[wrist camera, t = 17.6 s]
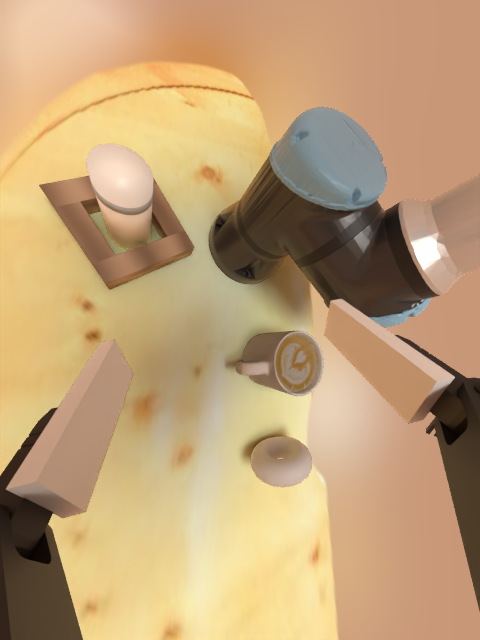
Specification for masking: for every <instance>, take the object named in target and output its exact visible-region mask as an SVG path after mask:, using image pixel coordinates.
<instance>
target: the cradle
mask: <svg viewBox="0 0 480 640" xmlns="http://www.w3.org/2000/svg"><path fill="white" fill-rule="evenodd" d="M39 186H40V187H41V189H42V190H43V192H44V193H45V195H46V196H47V198H48V199H49V201H50V202H51V204H52V205H53V207H54V208H55V210H56V211H57V213H58V214H59V216H60V217H61V219H62V220H63V222H64V223H65V225H66V226H67V227H68V229H69V230H70V232H71V233H72V235H73V236H74V238H75V239H76V241H77V242H78V244H79V245H80V247H81V248H82V250H83V251H84V253H85V254H86V255H87V257H88V258H89V260H90V261H91V263H92V264H93V266H94V267H95V269H96V270H97V272H98V273H99V275H100V276H101V278H102V279H103V281H104V282H105V284H106V285H107V286H108V288H109V289H112V288H114V287H116V286H119V285H121V284H123V283H126V282H128V281H130V280H133V279H135V278H137V277H140V276H142V275H144V274H147V273H149V272H151V271H154V270H156V269H158V268H161V267H163V266H165V265H168V264H170V263H172V262H175V261H177V260H179V259H182V258H184V257H186V256H189V255H191V253H192V251H193V249H194V246H193V244H192V242H191V241H190V239H189V237H188V236H187V234H186V232H185V230H184V229H183V227H182V225H181V224H180V222H179V220H178V219H177V217H176V215H175V214H174V212H173V210H172V209H171V207H170V205H169V203H168V202H167V200H166V198H165V197H164V195H163V193H162V192H161V190H160V188H159V187H158V185H157V183H156V181H155V180H154V178H153V201H152V219H151V222H152V223H153V225H154V227H155V228H156V230H157V231H158V233H159V235H160V236H161V238H162V239H160V240H157V241H154V242H151V243H149V244H146V245H143V246H140V247H138V248H135V249H132V250H129V251H126V252H124V253H121V254H118V255H115V254H114V252H113V251H112V249H111V248H110V246H109V245H108V243H107V242H106V240H105V239H104V237H103V236H102V234H101V233H100V231H99V230H98V228H97V227H96V225H95V223H94V222H93V220H92V219H91V217H90V216H89V214H91V213H95V212H99V211H101V210H100V207H99V204H98V201H97V198H96V195H95V193H94V190H93V187H92V184H91V181H90V177H89V176H85V177H80V178H74V179H69V180H64V181H58V182H53V183H47V184H42V185H39Z"/></svg>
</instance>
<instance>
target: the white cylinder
mask: <svg viewBox="0 0 480 640" xmlns="http://www.w3.org/2000/svg"><path fill="white" fill-rule="evenodd" d="M86 167H87V171H88V174H89V177H90V181H91V184H92V187H93V190H94V193H95V195H96V198H97V201H98V204H99V207H100V210H101V213H102V216H103V219H104V222H105V225H106V228H107V231H108V234H109V236H110V238H111V239H112V240H113V241H114V242H115V243H116V244H117V245H119V246H120V247H123V248H125V249H130V250H132V249H135V248H138V247H140V246H143V245H146V244H148V243H149V241H150V237H151V219H152V201H153V174H152V172H151V169H150V167H149V166H148V164H147V163H146V162H145V160H144V159H143V158H142V157H141V156H139V155H138V154H137V153H135V152H134V151H132V150H131V149H129V148H127V147H124V146H121V145H117V144H101V145H98V146H96V147H94V148H93V149H92V150H91V151H90V152H89V154H88V155H87V159H86Z"/></svg>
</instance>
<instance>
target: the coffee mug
mask: <svg viewBox="0 0 480 640" xmlns="http://www.w3.org/2000/svg"><path fill="white" fill-rule="evenodd" d="M323 367H324V362H323V354H322V351H321V348H320V346H319V344H318V342H317V341H316V340H315V338H314V337H313V336H312V335H310V334H308V333H306V332H304V331H288V332H277V333H266V334H259V335H257V336H255V337H253V338H252V339H251V340H250V341H249V342H248V344H247V346H246V348H245V350H244V355H243V360H242V361H239V362H237V363H236V371H237V372H238V373H239V374H242V375H248V376H249V377H250V378H251V379H252V380H253V381H254V382H256V383H258V384H261V385H264V386H267V387H270V388H273V389H276V390H279V391H282V392H285V393H288V394H291V395H294V396H303V395H306V394H309V393H310V392H312V391H313V390H314V389H315V388H316V386H317V385H318V383H319V382H320V379H321V377H322V373H323Z"/></svg>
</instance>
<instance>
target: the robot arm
mask: <svg viewBox="0 0 480 640" xmlns="http://www.w3.org/2000/svg"><path fill="white" fill-rule="evenodd" d="M382 160H383V158H382V155H381V153H380V151H379V149H378V147H377V146H376V144H375V143H374V141H373V140H372V138H371V137H370V136H369V135H368V133H367V132H366V131H365V130H364V129H363V128H362V127H361V126H360V125H359V124H358V123H357V122H356V121H354V120H353V119H352V118H350V117H349V116H347V115H346V114H344V113H342V112H339V111H338V110H335V109H332V108H328V107H316V108H312V109H309V110H307V111H305V112H303V113H302V114H301V115H299V116H298V117H297V118H296V119H295V121H294V122H293V123H292V124H291V126H290V127H289V128H288V130H287V132H286V133H285V134H284V135H283V137H282V138H281V139H280V140H279V141H278V142H277V143H276V144H275V145H274V146H273V149H272V150H271V153H270V155H269V157H268V158H267V160H266V161H265V163H264V164H263V166H262V167H261V169H260V171H259V172H258V174H257V175H256V177H255V178H254V180H253V181H252V183H251V184H250V186H249V188H248V189H247V191H246V192H245V194H244V195H243V197H242V198H241V200H239V201H238V202H236V203H234V204H233V205H231V206H229V207H228V208H226V209H224V210H223V211H222V212H221V213H220V214H219V215H218V216H217V218H216V220H215V221H214V223H213V225H212V227H211V230H210V234H209V246H210V251H211V254H212V256H213V259H214V260H215V262H216V264H217V265H218V267H219V268H220V269H221V270H222V271H223V272H224V273H225V274H226V275H227V276H228V277H230V278H231V279H233V280H235V281H237V282H240V283H244V284H255V283H259V282H261V281H263V280H265V279H267V278H268V277H270V276H271V275H272V274H273V273H274V272H275V271H276V270H277V268H278V267H279V265H280V264H281V262H282V261H283V259H284V258H285V257H286V256H287V255H288V254H289V255H290V256H291V258H292V259H293V260H294V261H295V263H296V264H297V265H298V267H299V268H300V269H301V271H302V272H303V273H304V275H305V276H306V277H307V278H308V280H309V281H310V282H311V284H312V285H313V286H314V287H315V289H316V290H317V291H318V293H319V294H320V295H321V297H322V298H323V299H324V302H325V304H326V306H327V307H328V308H329V312H328V317H327V323H326V328H325V334H324V335H325V336H326V337H327V338H328V339H329V340H330V341H331V343H332V344H333V345H334V346H335V347H336V348H337V349H338V350H339V351H340V352H341V353H342V354H343V355H344V356H345V357H346V358H347V360H348V361H350V363H351V364H352V365H353V366H354V367H355V368H356V369H357V370H358V371H359V372H360V373H361V374H362V375H363V376H364V377H365V379H366V380H367V381H368V382H369V383H370V384H371V385H372V386H373V387H374V388H375V389H376V390H377V391H378V392H379V393H380V394H381V396H382V397H383V398H384V399H385V400H386V401H387V402H388V403H389V404H390V405H391V406H392V407H393V408H394V409H395V410H396V411H397V412H398V414H399V415H401V417H403V419H404V420H405V421H406V422H407V423H408V424H409V423H413V422H417V421H420V420H423V419H424V418H425V417H426V416H427V414H428V413H429V412H431V413H432V414H433V415H435V416H436V417H435V419H434V420H433V421H432V422H431V424H430V425H429V426H428V428H427V429H426V433H428V434H430V433H431V431H432V430H433V429H434V428H435V430H436V433H435V434H434V436H436V437H437V439H438V443H439V446H440V450H441V455H442V459H443V463H444V467H445V471H446V475H447V480H448V483H449V487H450V491H451V496H452V500H453V504H454V508H455V512H456V516H457V520H458V525H459V528H460V533H461V536H462V541H463V545H464V549H465V553H466V557H467V561H468V565H469V569H470V573H471V578H472V582H473V586H474V590H475V594H476V598H477V602H478V606H479V610H480V378H466V377H465V376H463V375H461V374H460V373H458V372H457V371H455V370H454V369H452V368H450V367H449V366H448V365H446V364H445V363H443V362H442V361H440V360H439V359H437V358H436V357H434V356H433V355H431V354H429V353H428V352H427V351H425V350H424V349H421V348H420V347H419V346H417V345H416V344H415V343H413V342H412V341H410V340H408V339H406V338H403V337H401V336H399V335H393V334H392V333H390V332H389V331H388V330H386V329H385V328H386V327H390V326H394V325H397V324H400V323H403V322H405V321H406V320H407V318H406V317H409V316H411V317H414V316H416V315H418V314H419V313H421V312H422V311H423V310H424V309H425V308H426V307H427V305H428V304H429V302H430V299H431V297H435V296H440V295H443V294H446V293H447V292H448V291H449V289H450V288H451V287H452V286H453V285H454V283H455V282H456V281H457V280H458V278H460V277H461V276H462V275H464V274H467V273H471V272H474V271H478V270H480V174H479V175H477V176H475V177H473V178H471V179H470V180H468V181H466V182H464V183H462V184H460V185H458V186H457V187H455V188H453V189H451V190H449V191H448V192H446V193H444V194H442V195H440V196H438V197H437V198H435V199H433V200H427V201H420V200H411V199H405V200H403V201H401V202H400V203H398V204H396V205H394V206H393V207H391V208H389V209H388V210H385V211H384V210H383V209H382V208H381V206H380V204H379V203H378V201H377V199H378V198H379V196H380V195H381V194H382V192H383V191H384V189H385V186H386V182H387V173H386V167H385V166H384V165H383V164H382ZM133 374H134V373H133V371H132V370H131V368H130V366H129V364H128V362H127V361H126V359H125V357H124V355H123V353H122V352H121V350H120V348H119V346H118V344H117V343H116V341H115V340H110V341H104V342H100V344H99V345H98V347H97V348H96V350H95V351H94V353H93V354H92V356H91V358H90V359H89V361H88V362H87V364H86V365H85V367H84V368H83V370H82V372H81V373H80V375H79V376H78V378H77V379H76V381H75V382H74V384H73V385H72V387H71V389H70V390H69V392H68V393H67V395H66V396H65V398H64V399H63V401H62V402H61V404H60V406H59V407H58V408H53V409H51V410H50V411H49V412H48V413H47V414H46V415H44V416H43V417H42V418H41V419H40V420H39V421H38V423H37V424H36V425H35V427H34V428H33V430H32V431H31V433H30V434H29V437H28V438H26V440H25V441H24V443H23V444H22V446H21V449H19V450H18V451H17V453H16V454H15V456H14V457H13V459H12V460H11V461H10V463H9V464H8V466H7V467H6V469H5V470H4V471H3V473H2V474H1V476H0V640H83V638H82V635H81V631H80V627H79V624H78V620H77V617H76V613H75V609H74V606H73V602H72V599H71V595H70V592H69V588H68V584H67V581H66V577H65V574H64V570H63V567H62V563H61V559H60V556H59V552H58V549H57V545H56V542H55V538H54V534H53V531H52V529H51V527H50V526H49V525H48V523H49V520H50V518H51V516H52V514H53V513H54V514H56V515H58V516H60V517H62V518H65V517H69V516H72V515H76V514H80V513H83V512H86V510H87V507H88V504H89V502H90V499H91V496H92V493H93V490H94V487H95V484H96V481H97V478H98V475H99V472H100V470H101V467H102V464H103V461H104V458H105V455H106V452H107V449H108V446H109V443H110V440H111V438H112V435H113V432H114V429H115V426H116V423H117V420H118V417H119V414H120V411H121V408H122V406H123V403H124V400H125V397H126V394H127V391H128V388H129V385H130V382H131V379H132V376H133Z"/></svg>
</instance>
